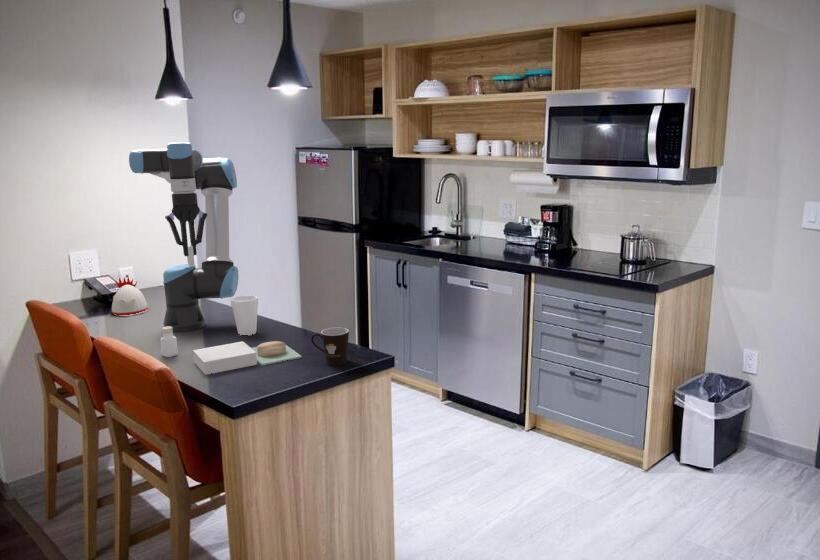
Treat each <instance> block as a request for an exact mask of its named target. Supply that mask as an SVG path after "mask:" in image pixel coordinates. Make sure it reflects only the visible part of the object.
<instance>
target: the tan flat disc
mask: <svg viewBox="0 0 820 560" xmlns="http://www.w3.org/2000/svg"><path fill="white" fill-rule="evenodd" d="M285 345H286V343H285V342H284V341H278V340H277V341H276V340H275V341H267V342H266V341H265V342H261V343H260V344H259V345H257V346H256V347H257V351H258V355H259V356H261V357H275V356H280V355H282V354H284V353H285V352H286V346H285Z"/></svg>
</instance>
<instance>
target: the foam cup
mask: <svg viewBox="0 0 820 560" xmlns="http://www.w3.org/2000/svg"><path fill="white" fill-rule="evenodd" d="M230 305H231V307H232V308H231V309H232V312H233V316H234V318H233V319H234V322H235V327H236V330H237V333H238V335H239V334H240V335H239V336H241V335H248V336H253V335H256V333H257V325H258V324H257V323H258V306H259V297H258V296H257V295H252V294H251V295H249V294H247V295H246V294H245V295H239V296H235V297H234V296H233V297H231V299H230ZM252 334H253V335H252Z"/></svg>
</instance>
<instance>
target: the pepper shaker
mask: <svg viewBox="0 0 820 560" xmlns="http://www.w3.org/2000/svg"><path fill="white" fill-rule="evenodd" d="M161 333H162V337H161V338H160V349H161V356H163V357H166V358H171V357H175V356H177V355H179V349H178V342H177V341H178V340H177V337H176V336H175V335H173V334H174V332H173V330H172V327H171V326H167V327H164V326H162V328H161Z"/></svg>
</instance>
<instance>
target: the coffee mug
mask: <svg viewBox="0 0 820 560" xmlns="http://www.w3.org/2000/svg"><path fill="white" fill-rule="evenodd" d="M349 331H350V330H349V329H348V328H346V327H340V326H339V327H338V326H337V327H328V328H325V329H322V330H321V331H320V334H319V333H314V334H313V335H312V336H311V339H310V341H311V343H312V345H313V346H314V347H315V348H317V349H318V350H319V351H321V352H322V353H324V357H325V358H324V359H325V362H326V365H328V366H332V365H333V366H336V365H337V366H342V364H343V365H344V364H347V362H348V353H349V352H348V351H349V337H350V336H349V334H350V333H349ZM315 337H320V339H321V340H322V347H323V348H321V347H320V346H318V345H317V344H316V343H315V340H314V338H315ZM337 366H336V367H337Z"/></svg>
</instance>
